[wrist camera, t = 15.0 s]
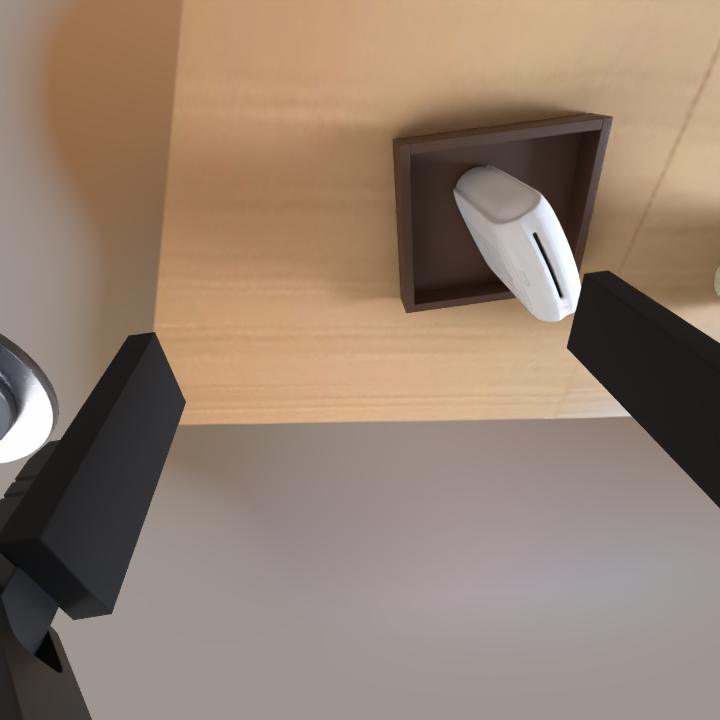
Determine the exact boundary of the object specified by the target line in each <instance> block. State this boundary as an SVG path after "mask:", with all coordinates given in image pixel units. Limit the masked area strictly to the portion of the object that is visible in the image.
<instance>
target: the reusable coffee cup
mask: <svg viewBox="0 0 720 720" xmlns="http://www.w3.org/2000/svg"><path fill="white" fill-rule="evenodd" d="M714 288H715V291H716V293H717V294H718V296H719V297H720V265H719V267H718V269H717V271H716V274H715V279H714Z"/></svg>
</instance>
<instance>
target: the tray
mask: <svg viewBox="0 0 720 720" xmlns="http://www.w3.org/2000/svg"><path fill="white" fill-rule="evenodd" d="M612 120H613V117H611V116H605V115H599V114H593V113H589V114H581V115H574V116H566V117H558V118H551V119H543V120H536V121H528V122H520V123H513V124H505V125H498V126H490V127H482V128H475V129H467V130H459V131H452V132H444V133H437V134H429V135H421V136H414V137H406V138H399V139H393V156H394V175H395V195H396V214H397V233H398V253H399V272H400V291H401V300H402V303H403V305H404V308H405V310H406V313H411V312H418V311H425V310H432V309H440V308H447V307H454V306H461V305H468V304H475V303H483V302H490V301H497V300H504V299H511V298H517V297H516V296H515V295H514V294H513V293H512V292H511V290H510V289H509V288H508V287H507V286H506V285H505V284H504V283H503V282H502V280H501V279H500V278H499V277H498V276H497V275H496V274H495V273H494V272H493V271H492V270H491V268H490V267H489V266H488V264H487V263H486V261H485V259H484V257H483V255H482V254H481V252H480V250H479V248H478V246H477V244H476V242H475V240H474V239H473V237H472V235H471V233H470V231H469V229H468V227H467V225H466V223H465V220H464V218H463V217H462V214H461V212H460V210H459V207H458V205H457V203H456V200H455V196H454V192H453V189H454V188H456V184H457V182H458V180H459V179H460V178H461V176H462V175H463V174H464V173H466V172H467V171H468V170H470V169H472V168H475V167H486V166H488V165H491V166H494V167H496V168H497V169H499V170H501V171H503V172H505V173H507V174H508V175H510V176H512V177H514V178H516V179H518V180H519V181H521V182H523V183H525V184H526V185H528V186H530V187H532V188H534V189H535V190H537V191H539V192H540V193H541V194H542V195H543V197H544V198H545V199H546V200H547V202H548V203H549V204H550V206H551V208H552V209H553V211H554V213H555V215H556V217H557V219H558V221H559V223H560V225H561V227H562V230H563V232H564V234H565V237H566V239H567V242H568V244H569V246H570V249H571V252H572V255H573V258H574V261H575V264H576V267H577V271H578V275H579V271H580V267H581V262H582V258H583V253H584V249H585V244H586V239H587V235H588V230H589V226H590V221H591V216H592V212H593V207H594V203H595V198H596V193H597V189H598V184H599V180H600V175H601V170H602V166H603V161H604V157H605V152H606V147H607V143H608V138H609V134H610V129H611V124H612Z"/></svg>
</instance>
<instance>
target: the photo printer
mask: <svg viewBox="0 0 720 720" xmlns="http://www.w3.org/2000/svg"><path fill="white" fill-rule="evenodd" d="M453 192H454V196H455V200H456V203H457V205H458V207H459V210H460V212H461V214H462V217H463V218H464V220H465V223H466V225H467V227H468V229H469V231H470V233H471V235H472V237H473V239H474V240H475V242H476V244H477V246H478V248H479V250H480V252H481V254H482V255H483V257H484V259H485V261H486V263H487V264H488V266H489V267H490V268H491V270H492V271H493V272H494V273H495V274H496V275H497V276H498V277H499V278H500V279H501V280H502V282H503V283H504V284H505V285H506V286H507V287H508V288H509V289H510V290H511V292H512V293H513V294H514V295H515V296H516V297H517V298H518V299H519V300H520V302H521V303H522V304H523V305H524V306H525V307H526V308H527V309H528V310H529V312H530V313H531V314H532V315H533V316H534V317H536V318H537V319H539V320H543V321H550V322H553V321H559V320H561V319H562V318H564V317H565V316H566V315H568V314H571V313H574V312H575V311H576V307H577V303H578V298H579V294H580V290H581V285H580V279H579V275H578V271H577V267H576V264H575V261H574V258H573V255H572V252H571V249H570V246H569V244H568V242H567V239H566V237H565V234H564V232H563V230H562V227H561V225H560V223H559V221H558V219H557V217H556V215H555V213H554V211H553V209H552V208H551V206H550V204H549V203H548V202H547V200H546V199H545V198H544V197H543V195H542V194H541V193H540V192H539V191H537V190H535V189H534V188H532V187H530V186H528V185H526V184H525V183H523V182H521V181H519V180H518V179H516V178H514V177H512V176H510V175H508V174H507V173H505V172H503V171H501V170H499V169H497V168H496V167H494V166H491V165H488V166H486V167H475V168H472V169H470V170H468V171H467V172H466V173H464V174H463V175H462V176H461V178H460V179H459V180H458V182H457V184H456V188H454V189H453Z"/></svg>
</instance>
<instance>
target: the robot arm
mask: <svg viewBox="0 0 720 720" xmlns="http://www.w3.org/2000/svg"><path fill="white" fill-rule="evenodd" d="M567 348H568V350H569V351H570V352H571V353H572V354H573V355H574V356H575V357H576V358H577V359H578V360H579V361H580V362H581V363H582V364H583V365H584V366H585V367H586V368H587V369H588V371H589V372H590V373H591V374H592V375H593V376H594V377H595V378H596V379H597V380H598V381H599V382H600V383H601V384H602V385H603V386H604V387H605V388H606V389H607V390H608V391H609V393H610V394H611V395H612V396H613V397H614V398H615V399H616V400H617V401H618V402H619V403H620V404H621V405H622V406H623V407H624V408H625V409H626V410H627V411H628V412H629V414H630V415H631V416H632V417H633V418H634V419H635V420H636V421H637V422H638V423H639V424H640V425H641V426H642V427H643V428H644V429H645V430H646V431H647V432H648V433H649V434H650V436H651V437H652V438H653V439H654V440H655V441H656V442H657V443H658V444H659V445H660V446H661V447H662V448H663V449H664V450H665V451H666V452H667V453H668V454H669V455H670V457H671V458H672V459H673V460H674V461H675V462H676V463H677V464H678V465H679V466H680V467H681V468H682V469H683V470H684V471H685V472H686V473H687V474H688V475H689V476H690V477H691V478H692V480H694V482H695V483H696V484H697V485H698V486H699V487H700V488H701V489H702V490H703V491H704V492H705V493H706V494H707V495H708V496H709V497H710V498H711V499H712V501H714V502H715V504H716V505H717V506H718V507H719V508H720V343H718V342H717V341H715V340H714V339H712V338H711V337H709V336H708V335H706V334H705V333H703V332H702V331H700V330H699V329H697V328H696V327H694V326H692V325H691V324H689V323H688V322H686V321H685V320H683V319H682V318H680V317H679V316H677V315H676V314H674V313H673V312H671V311H670V310H668V309H666V308H665V307H663V306H662V305H660V304H659V303H657V302H656V301H654V300H653V299H651V298H650V297H648V296H647V295H645V294H644V293H642V292H640V291H639V290H637V289H636V288H634V287H633V286H631V285H630V284H628V283H627V282H625V281H624V280H622V279H621V278H619V277H618V276H616V275H614V274H613V273H611V272H610V271H601V272H593V273H586V274H584V277H583V281H582V286H581V290H580V294H579V298H578V303H577V307H576V311H575V315H574V320H573V324H572V328H571V332H570V336H569V341H568V345H567ZM185 403H186V401H185V399H184V397H183V395H182V392H181V390H180V388H179V386H178V383H177V381H176V379H175V376H174V374H173V372H172V370H171V367H170V365H169V363H168V361H167V358H166V356H165V354H164V352H163V349H162V347H161V345H160V343H159V340H158V338H157V336H156V334H155V332H152V333H145V334H138V335H130V336H128V337H127V339H126V341H125V342H124V344H123V345H122V347H121V348H120V350H119V351H118V353H117V354H116V356H115V357H114V359H113V360H112V362H111V364H110V365H109V367H108V368H107V370H106V371H105V373H104V374H103V376H102V377H101V379H100V380H99V382H98V384H97V385H96V386H95V388H94V389H93V391H92V393H91V394H90V396H89V397H88V399H87V400H86V402H85V403H84V405H83V406H82V408H81V409H80V411H79V412H78V414H77V416H76V417H75V418H74V420H73V422H72V423H71V425H70V426H69V428H68V429H67V431H66V432H65V434H64V435H63V437H62V438H61V440H58V441H51V442H48V443H47V444H46V445H45V446H44V447H42V448H41V449H40V450H39V451H38V452H37V453H36V454H35V455H33V456H32V457H31V458H30V459H29V460H28V461H27V463H26V464H25V465H24V467H23V468H22V470H21V471H20V473H19V474H18V476H17V477H16V478H15V480H16V481H15V482H13V483H12V484H11V485H10V487H9V488H8V490H7V491H6V493H5V494H4V499H1V500H0V720H92V718H91V716H90V713H89V711H88V708H87V706H86V703H85V701H84V698H83V696H82V694H81V691H80V688H79V686H78V683H77V681H76V678H75V676H74V673H73V671H72V668H71V666H70V663H69V661H68V658H67V656H66V653H65V651H64V648H63V646H62V643H61V641H60V638H59V636H58V633H57V632H56V631H55V630H54V629H53V628H52V627H51V626H50V625H51V623H52V620H53V618H54V616H55V614H56V611H57V609H58V607H60V608H61V609H62V610H63V611H64V612H65V613H67V615H68V616H70V617H71V618H72V619H73V620H77V619H84V618H90V617H96V616H102V615H108V614H112V612H113V609H114V605H115V603H116V600H117V597H118V594H119V592H120V589H121V586H122V583H123V580H124V577H125V574H126V571H127V569H128V566H129V563H130V560H131V557H132V555H133V552H134V548H135V546H136V543H137V540H138V537H139V535H140V532H141V529H142V526H143V523H144V520H145V517H146V515H147V512H148V509H149V506H150V503H151V500H152V497H153V495H154V492H155V489H156V486H157V483H158V480H159V478H160V475H161V472H162V469H163V466H164V463H165V460H166V458H167V455H168V452H169V449H170V446H171V443H172V440H173V438H174V435H175V432H176V429H177V426H178V423H179V421H180V418H181V415H182V412H183V409H184V406H185ZM15 419H16V407H15V403H14V401H13V398H12V396H11V395H10V393H9V391H8V390H7V388H6V387H5V386H4V385H3V384H2V382H1V381H0V441H1V440H2V439H3V438H4V437H5V435H6V434H7V433H8V432H9V431H10V429H11V428H12V427H13V425H14V422H15Z"/></svg>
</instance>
